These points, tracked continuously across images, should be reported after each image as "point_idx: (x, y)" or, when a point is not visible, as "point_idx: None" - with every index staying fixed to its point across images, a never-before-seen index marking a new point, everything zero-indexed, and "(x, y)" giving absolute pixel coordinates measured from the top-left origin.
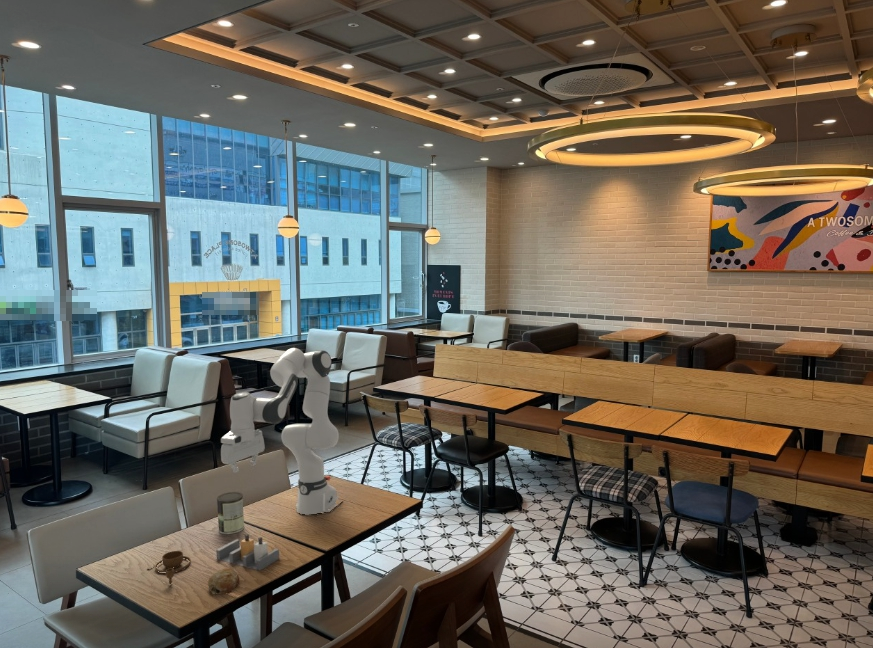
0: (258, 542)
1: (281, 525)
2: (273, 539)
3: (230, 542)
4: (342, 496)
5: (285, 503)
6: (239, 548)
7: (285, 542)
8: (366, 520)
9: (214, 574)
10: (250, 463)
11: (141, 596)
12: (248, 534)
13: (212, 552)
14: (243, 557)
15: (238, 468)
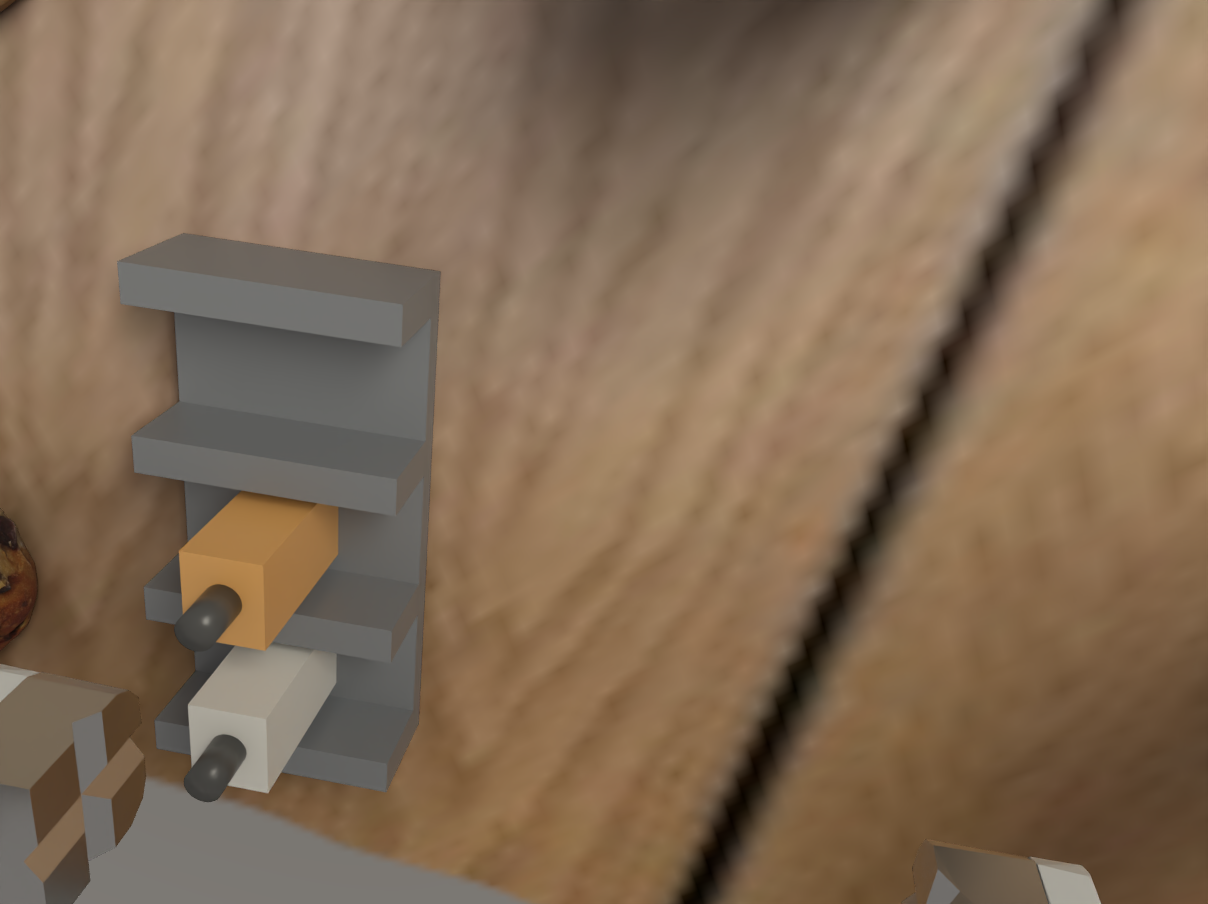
0: (207, 746)
1: (1150, 368)
2: (774, 476)
3: (312, 293)
4: None
5: None
6: (248, 468)
7: (742, 613)
8: None
9: None
10: (951, 886)
11: None
12: (213, 641)
13: (308, 37)
14: (147, 592)
15: (66, 902)
